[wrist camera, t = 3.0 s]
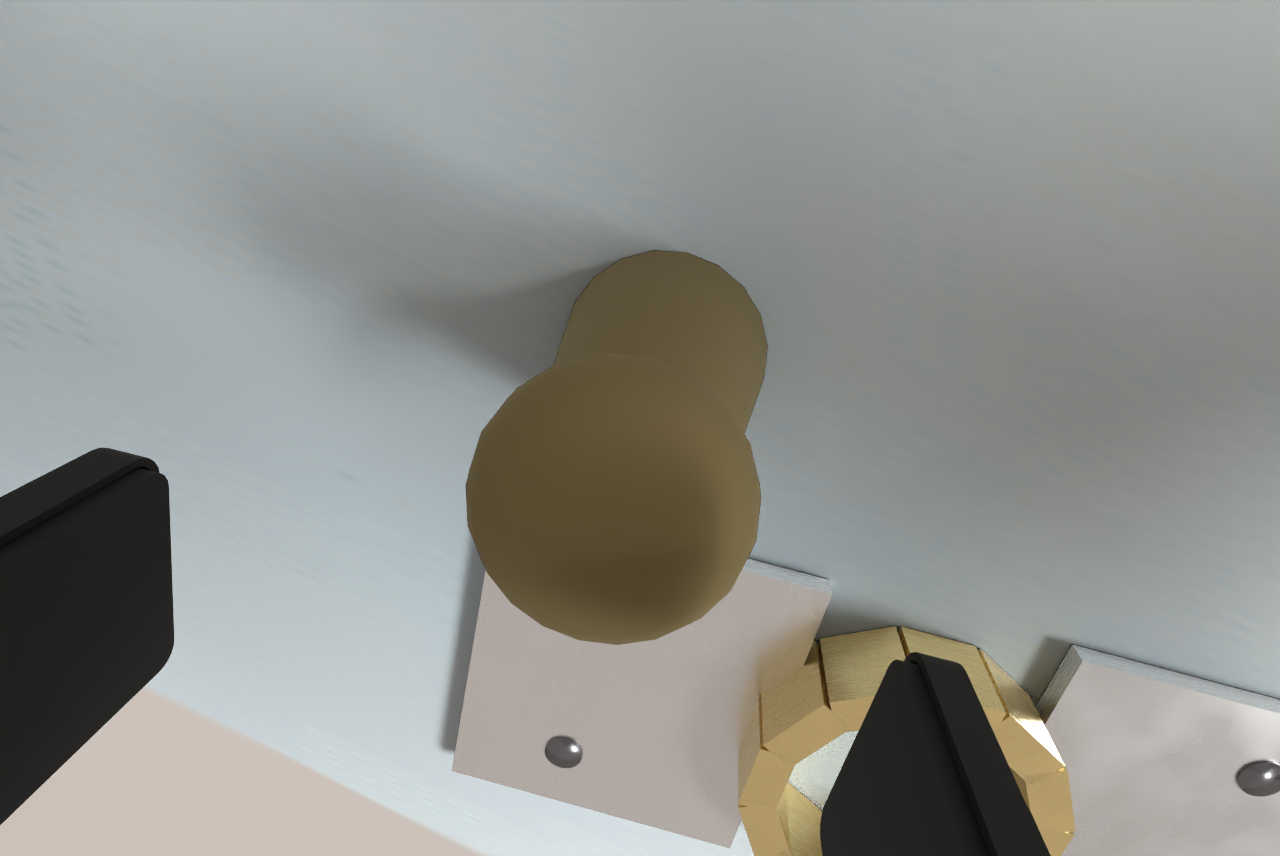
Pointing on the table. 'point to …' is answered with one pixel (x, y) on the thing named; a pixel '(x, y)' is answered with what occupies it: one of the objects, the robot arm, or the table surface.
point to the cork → (628, 457)
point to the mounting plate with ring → (853, 728)
